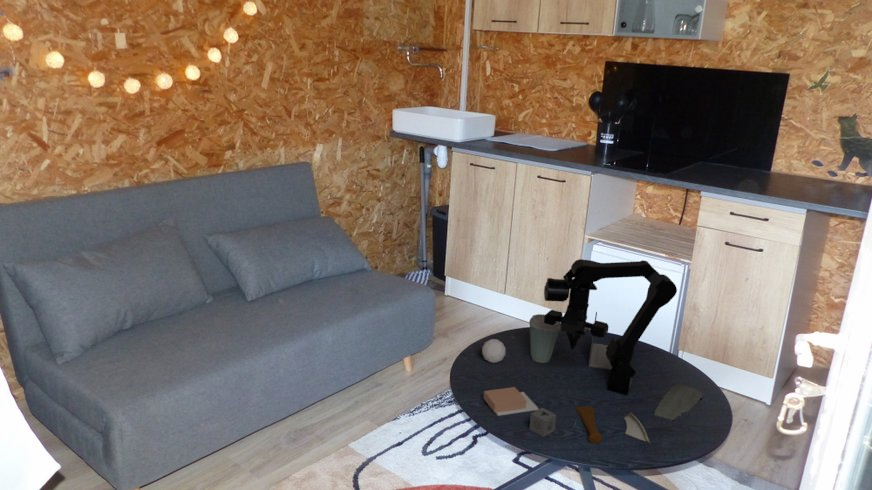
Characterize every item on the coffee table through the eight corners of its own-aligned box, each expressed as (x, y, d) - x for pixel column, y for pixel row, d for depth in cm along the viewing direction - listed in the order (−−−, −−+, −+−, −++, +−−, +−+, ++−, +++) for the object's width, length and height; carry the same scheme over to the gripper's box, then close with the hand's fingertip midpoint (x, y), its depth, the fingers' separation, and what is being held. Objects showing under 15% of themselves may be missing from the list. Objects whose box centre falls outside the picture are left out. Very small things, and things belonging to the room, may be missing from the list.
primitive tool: (574, 407, 207) (575, 397, 206) (592, 408, 208) (594, 398, 206) (588, 445, 189) (590, 434, 188) (608, 446, 189) (610, 435, 188)
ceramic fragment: (651, 446, 190) (653, 433, 189) (633, 447, 189) (635, 434, 188) (629, 419, 203) (631, 407, 202) (613, 420, 202) (614, 408, 201)
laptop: (626, 373, 230) (632, 337, 226) (588, 367, 233) (592, 331, 229) (627, 350, 246) (632, 316, 242) (591, 344, 249) (595, 311, 245)
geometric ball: (498, 367, 234) (514, 352, 232) (485, 367, 228) (502, 351, 225) (485, 350, 238) (501, 334, 235) (473, 349, 232) (489, 333, 229)
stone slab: (703, 399, 218) (672, 385, 223) (706, 392, 217) (674, 378, 222) (682, 431, 201) (649, 415, 206) (685, 423, 200) (652, 407, 204)
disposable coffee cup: (534, 348, 243) (539, 309, 239) (563, 358, 237) (567, 317, 233) (519, 359, 235) (523, 318, 230) (548, 369, 229) (553, 327, 224)
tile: (514, 387, 210) (484, 391, 207) (526, 400, 203) (495, 404, 200) (513, 394, 211) (483, 399, 208) (525, 408, 204) (494, 413, 201)
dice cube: (554, 430, 194) (556, 415, 193) (543, 437, 191) (545, 421, 190) (540, 423, 198) (542, 407, 196) (529, 429, 195) (530, 413, 193)
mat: (523, 392, 213) (523, 391, 213) (538, 409, 204) (538, 408, 204) (484, 398, 209) (484, 397, 209) (497, 415, 200) (497, 414, 200)
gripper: (539, 302, 208) (534, 350, 212) (600, 317, 199) (594, 367, 204) (552, 291, 217) (547, 337, 222) (611, 305, 208) (605, 352, 213)
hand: (572, 348), depth 215 cm, fingers closed
